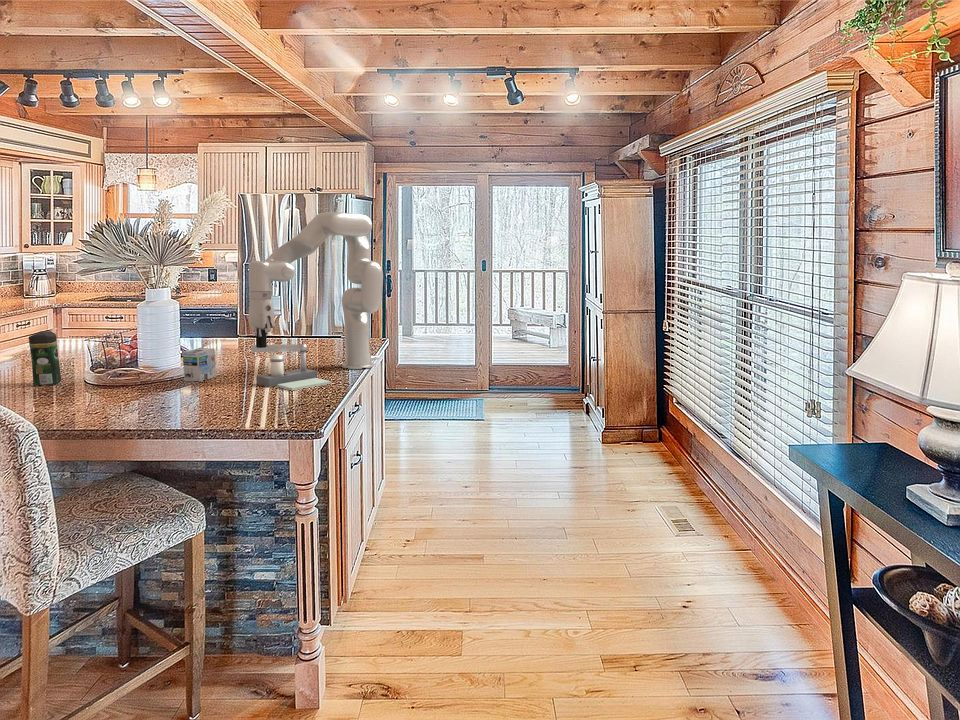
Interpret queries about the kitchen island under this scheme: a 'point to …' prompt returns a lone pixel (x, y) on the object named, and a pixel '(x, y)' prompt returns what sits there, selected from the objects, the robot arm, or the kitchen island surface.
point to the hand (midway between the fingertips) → (261, 347)
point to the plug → (277, 365)
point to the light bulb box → (199, 364)
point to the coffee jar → (44, 358)
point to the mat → (303, 384)
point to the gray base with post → (288, 375)
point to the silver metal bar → (281, 348)
